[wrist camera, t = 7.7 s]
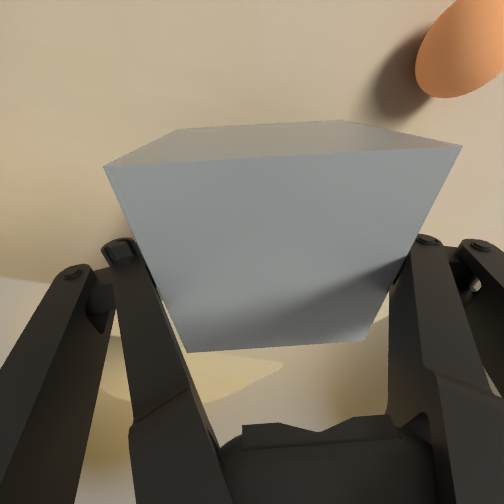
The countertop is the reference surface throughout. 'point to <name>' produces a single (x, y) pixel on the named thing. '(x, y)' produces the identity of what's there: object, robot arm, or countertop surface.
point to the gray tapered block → (278, 226)
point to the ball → (462, 49)
